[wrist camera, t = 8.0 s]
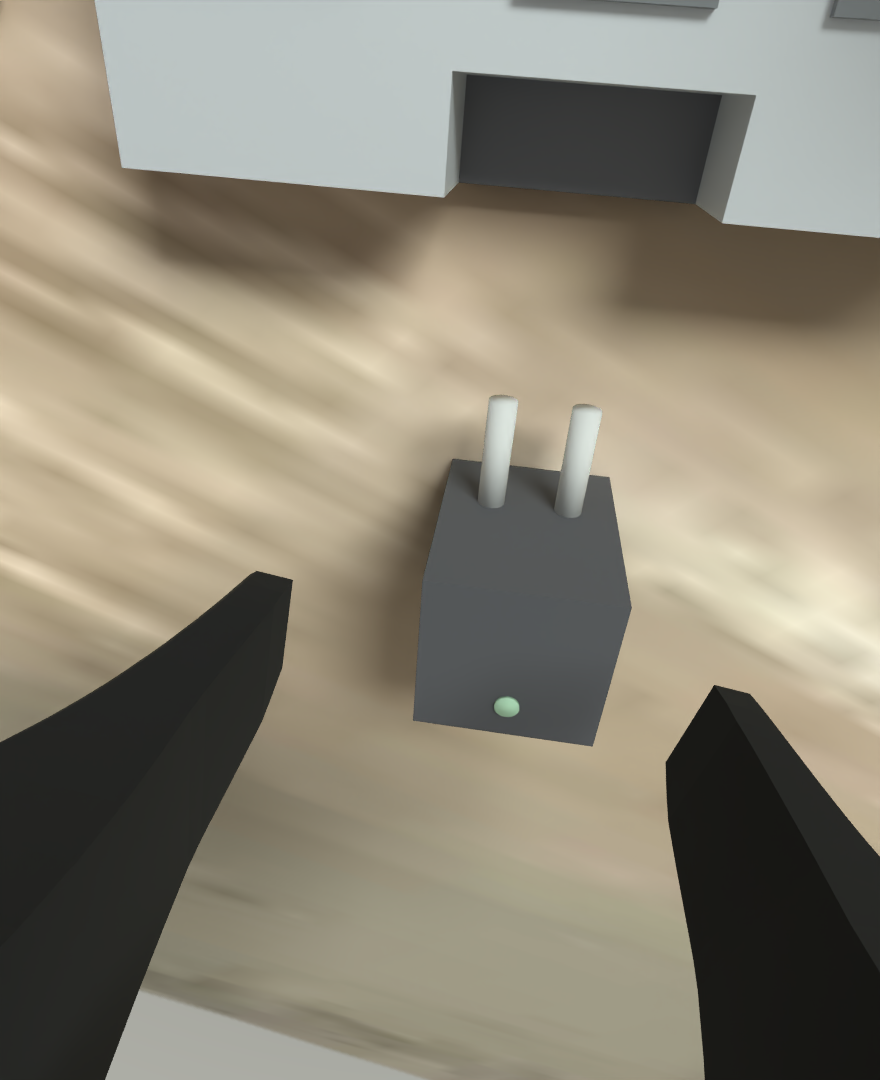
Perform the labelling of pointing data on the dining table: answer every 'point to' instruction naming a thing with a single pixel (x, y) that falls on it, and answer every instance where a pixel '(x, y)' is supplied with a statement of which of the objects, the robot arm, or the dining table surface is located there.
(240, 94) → the power strip
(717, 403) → the dining table surface
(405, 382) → the dining table surface
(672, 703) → the dining table surface
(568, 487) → the charger
